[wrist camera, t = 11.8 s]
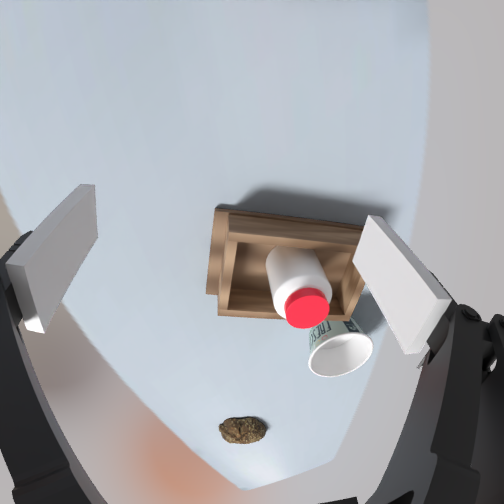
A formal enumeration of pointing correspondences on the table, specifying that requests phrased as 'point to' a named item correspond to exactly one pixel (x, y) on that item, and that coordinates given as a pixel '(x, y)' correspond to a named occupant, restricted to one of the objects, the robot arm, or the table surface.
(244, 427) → the bread roll
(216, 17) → the table surface
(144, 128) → the table surface
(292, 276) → the pill bottle
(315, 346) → the food container
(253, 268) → the tray
